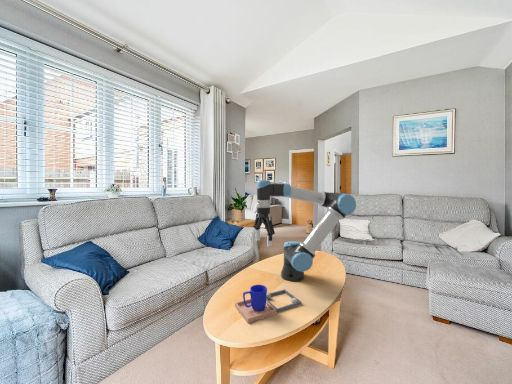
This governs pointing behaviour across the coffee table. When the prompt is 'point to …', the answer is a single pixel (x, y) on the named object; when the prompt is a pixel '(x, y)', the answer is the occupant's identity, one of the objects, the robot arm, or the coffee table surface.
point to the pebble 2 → (294, 300)
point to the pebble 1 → (268, 296)
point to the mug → (257, 297)
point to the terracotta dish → (254, 311)
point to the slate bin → (286, 305)
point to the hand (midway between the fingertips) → (263, 243)
